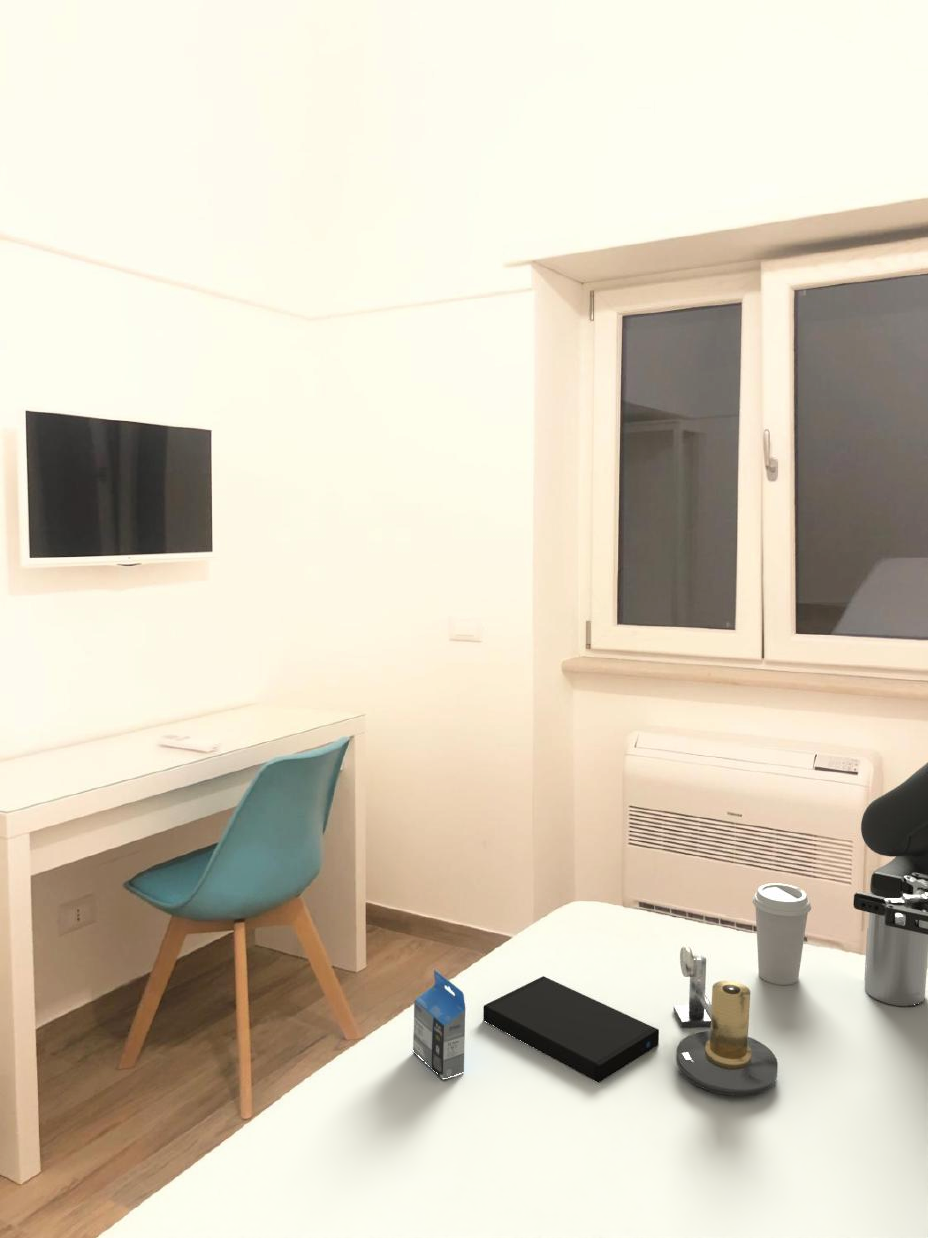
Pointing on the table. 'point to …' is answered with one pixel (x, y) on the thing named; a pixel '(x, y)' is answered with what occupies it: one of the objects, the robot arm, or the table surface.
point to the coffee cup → (780, 931)
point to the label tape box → (440, 1027)
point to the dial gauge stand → (694, 992)
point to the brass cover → (729, 1026)
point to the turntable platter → (726, 1080)
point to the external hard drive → (571, 1028)
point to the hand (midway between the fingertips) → (863, 889)
